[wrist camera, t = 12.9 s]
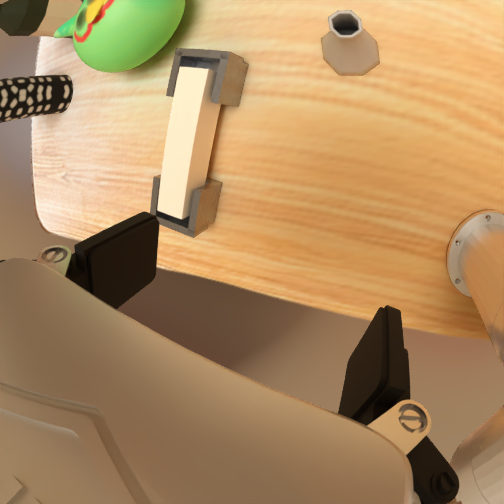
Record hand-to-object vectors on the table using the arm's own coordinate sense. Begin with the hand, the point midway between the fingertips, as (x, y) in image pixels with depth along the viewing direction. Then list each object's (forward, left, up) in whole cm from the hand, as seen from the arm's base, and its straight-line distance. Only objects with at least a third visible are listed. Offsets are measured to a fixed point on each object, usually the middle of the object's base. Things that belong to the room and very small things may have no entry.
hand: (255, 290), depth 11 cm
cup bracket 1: (+18, -8, -28) cm, 35 cm away
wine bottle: (+51, -20, -28) cm, 62 cm away
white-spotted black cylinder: (+55, -4, -28) cm, 62 cm away
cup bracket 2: (+18, +9, -28) cm, 35 cm away
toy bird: (+32, -17, -28) cm, 46 cm away
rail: (+18, 0, -26) cm, 32 cm away
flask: (+2, -16, -29) cm, 33 cm away
